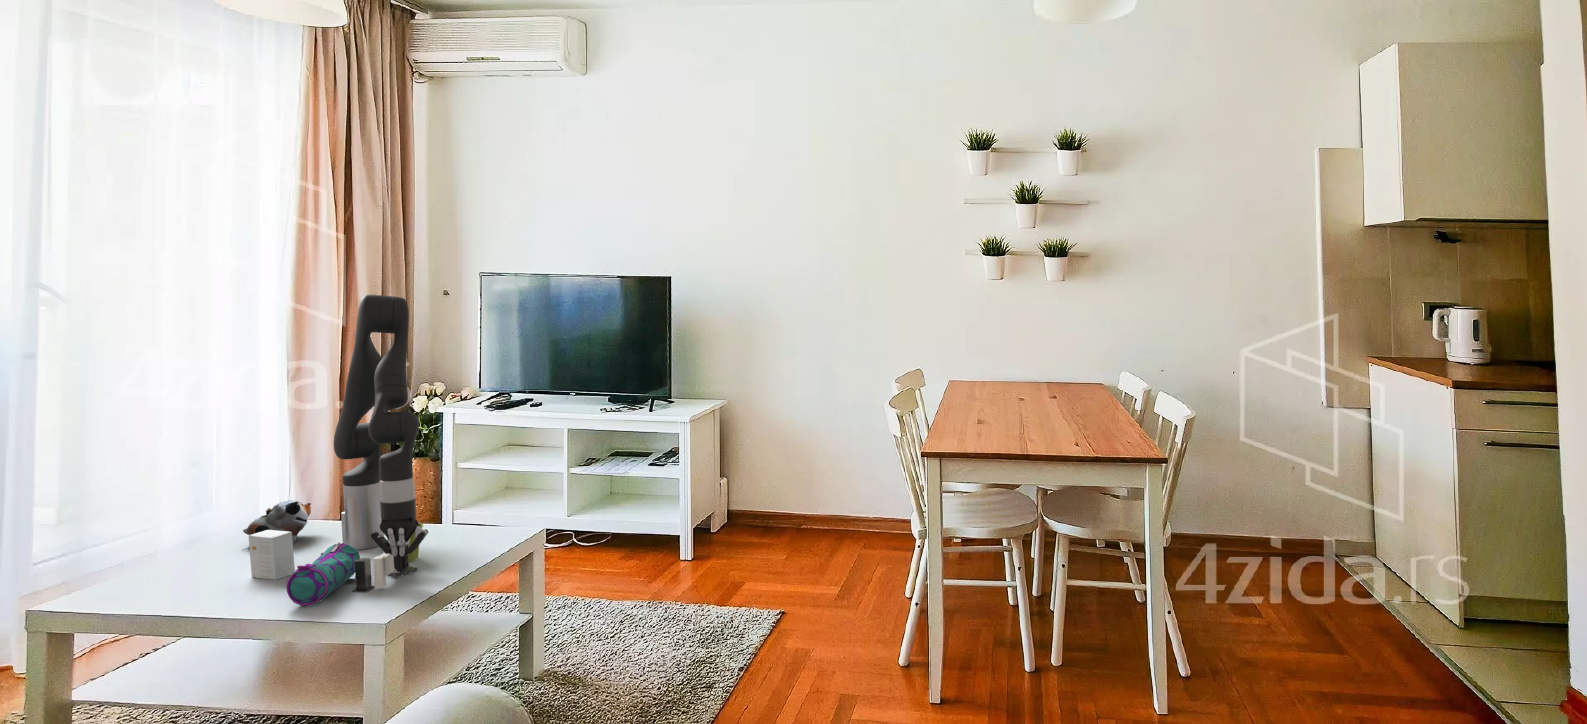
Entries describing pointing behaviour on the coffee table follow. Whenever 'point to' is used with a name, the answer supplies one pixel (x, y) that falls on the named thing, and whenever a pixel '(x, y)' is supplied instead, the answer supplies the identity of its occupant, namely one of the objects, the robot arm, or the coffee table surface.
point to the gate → (383, 569)
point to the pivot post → (407, 571)
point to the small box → (271, 554)
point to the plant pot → (414, 554)
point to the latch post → (363, 575)
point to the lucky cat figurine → (282, 518)
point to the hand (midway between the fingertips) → (401, 570)
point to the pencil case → (322, 575)
